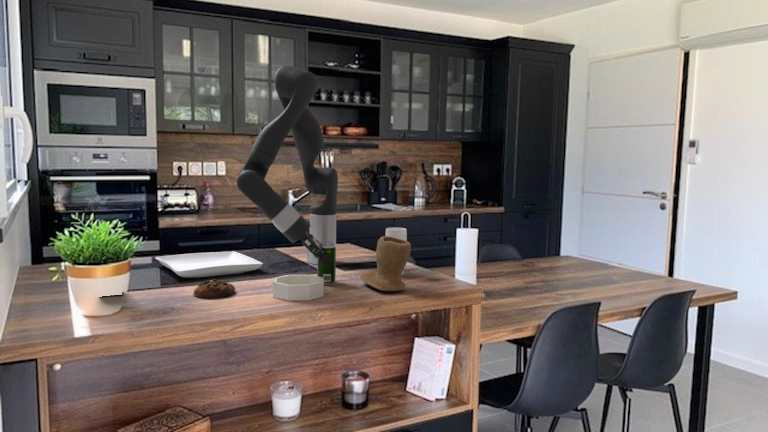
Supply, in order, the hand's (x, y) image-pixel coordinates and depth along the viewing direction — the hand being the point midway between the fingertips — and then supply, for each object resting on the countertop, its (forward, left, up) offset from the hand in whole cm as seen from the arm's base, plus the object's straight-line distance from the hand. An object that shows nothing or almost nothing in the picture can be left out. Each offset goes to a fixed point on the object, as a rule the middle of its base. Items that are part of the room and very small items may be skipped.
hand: (329, 261), depth 170 cm
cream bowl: (+2, -16, -7) cm, 17 cm away
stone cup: (+16, +6, -7) cm, 19 cm away
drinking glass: (+8, +22, -7) cm, 25 cm away
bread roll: (-15, -30, -7) cm, 34 cm away
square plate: (-43, -11, -7) cm, 45 cm away
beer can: (-1, -1, -7) cm, 7 cm away
